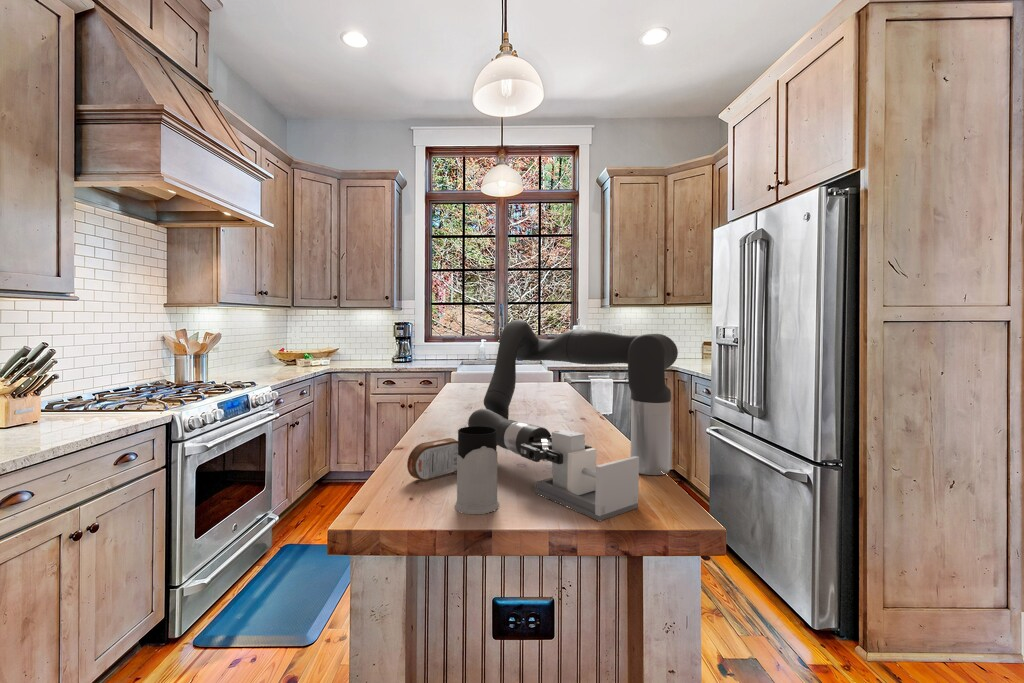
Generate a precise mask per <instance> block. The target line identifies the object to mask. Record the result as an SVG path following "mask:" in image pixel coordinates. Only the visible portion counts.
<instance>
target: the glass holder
mask: <svg viewBox="0 0 1024 683" xmlns="http://www.w3.org/2000/svg"><path fill="white" fill-rule="evenodd" d="M457 441H458V455H457V472H456V502H455V504H454V509H455V511H457V512H458V511H460V512H459V513H461V512H462V513H461V514H464V513H465V514H464V515H469V514H483V515H485V514H484V513H488V514H490V513H489V512H492V511H494V510H496V509H497V508H498V507H499V508H500V503H499V501H498V451H497V448H498V447H497V446H498V445H497V430H496V429H495V428H492V427H486V426H470V427H468V426H465V427H461V428H458V429H457ZM499 508H498V509H499ZM498 509H497V510H498ZM497 510H496V511H497ZM494 512H495V511H494ZM492 513H493V512H492Z"/></svg>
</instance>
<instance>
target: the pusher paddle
mask: <svg viewBox="0 0 1024 683" xmlns="http://www.w3.org/2000/svg"><path fill="white" fill-rule="evenodd" d="M596 466H597V449H596V448H594V447H592V448H590V449H585V450H580V451H576V452H571V453H568V480H567V491H569V492H571V493H574V494H576V495H581V494H585V493H588V492H592V491H595V490H596Z"/></svg>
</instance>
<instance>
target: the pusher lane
mask: <svg viewBox="0 0 1024 683" xmlns="http://www.w3.org/2000/svg"><path fill="white" fill-rule="evenodd" d="M639 474H640V473H639V457H637V456H633V457H630V456H629V457H626V458H621V459H617V460H613V461H609V462H605V463H601V464H596V490H595V491H592V492H588V493H585V494H581V495H576V494H574V493H571V492H569V491H566V490H564V489H561V488H559V487H556V486H554V485H553V476H552V477H549V478H544V479H541V480H537V481H536V482H537V483H536V488H535V490H534V491H535V493H537V494H536V495H538V494H539V495H538V496H540V495H542V496H544V497H543V498H545V497H546V498H545V499H547V498H548V499H547V500H549V499H551V500H553V501H552V502H554V501H556V502H558V503H561V504H563V505H565V506H568V507H570V508H572V509H574V510H576V511H578V512H577V513H579V512H581V513H583V514H585V515H584V516H586V515H587V516H586V517H588V516H590V517H592V518H594V519H593V520H595V519H597V520H599V521H598V522H601V521H600V520H602V521H604V520H603V519H605V520H607V519H606V518H608V519H610V518H609V517H611V518H613V517H615V516H619V515H623V514H624V513H627V512H630V511H634V510H637V509H638V508H639V481H640V480H639V479H640V478H639V477H640V476H639ZM542 496H541V497H542ZM551 500H550V501H551ZM556 502H555V503H556ZM558 503H557V504H558ZM561 504H560V505H561ZM563 505H562V506H563ZM565 506H564V507H565ZM570 508H569V509H570ZM572 509H571V510H572ZM574 510H573V511H574ZM576 511H575V512H576ZM581 513H580V514H581ZM583 514H582V515H583ZM618 514H619V515H618ZM612 516H613V517H612ZM590 517H589V518H590ZM592 518H591V519H592ZM597 520H596V521H597Z"/></svg>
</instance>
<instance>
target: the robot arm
mask: <svg viewBox="0 0 1024 683" xmlns="http://www.w3.org/2000/svg"><path fill="white" fill-rule="evenodd" d="M498 345H499V346H498V349H497V355H496V360H495V365H494V370H493V373H492V376H491V380H490V383H489V385H488V387H487V390H486V392H485V395H484V398H483V405H484V407H485V408H480V409H476V410H475V411H473V412H472V413H471V415H470V416H469V417H468V420H467V427H470V426H486V427H492V428H495V429H496V430H497V446H498V447H500V448H502V449H505V450H507V451H511V452H512V453H514V454H516V455H519V456H520V457H522V458H525V459H527V460H530V461H531V462H534V463H540V462H541V461H543V462H551V463H552V462H553V463H556V464H563V454H562V453H560V452H557V451H553V450H552V433H551V432H550V430H548V429H547V428H545V427H543V426H539V425H535V424H532V423H528V422H522V421H516V420H513V419H509V415H510V414H509V413H510V412H509V411H510V408H509V407H510V404H511V402H512V400H513V396H514V392H515V390H516V382H517V380H516V379H517V377H516V376H517V373H516V372H517V370H516V365H517V364H516V361H517V360H519V361H552V362H553V361H554V362H562V363H563V362H564V363H565V362H566V363H571V364H578V365H579V364H580V365H611V364H612V365H613V364H624V365H625V364H627V375H628V376H627V382H628V383H627V384H628V388H629V390H630V394H631V397H630V398H631V399H630V400H631V404H630V406H631V408H630V409H631V410H630V451H629V452H630V454H629V455H630V456H629V457H633V456H637V457H639V474H641V475H648V476H663V475H667V474H669V472H670V470H672V458H673V457H672V456H673V455H672V452H673V451H672V450H673V445H672V444H673V431H672V430H671V412H672V411H671V410H672V408H671V404H672V403H671V402H672V401H671V400H672V392H671V389H670V388H669V387H668V386H667V384H666V378H665V374H666V373H665V372H666V371H665V370H666V369H668V368H670V367H672V365H674V363H676V360H677V359H678V356H679V351H678V347H677V345H676V343H675V341H674V340H672V339H671V338H670V337H668V336H667V335H665V334H662V333H645V334H640V335H625V334H624V335H623V334H617V333H611V332H605V331H601V330H599V331H597V330H590V329H588V330H587V329H568V330H566V331H564V332H562V333H560V334H559V335H558V336H556V337H555V338H553V339H543V338H539V337H538V336H536V334H535V332H534V330H533V328H532V327H531V325H529V323H528V322H527V321H525V320H524V319H520V318H519V319H515V320H514V319H513V320H512V321H510V322H509V323H507V324H506V325H505V326H504V328H503V330H502V332H501V335H500V339H499V344H498ZM590 448H593V447H592V446H590V445H586V444H585V449H590ZM661 471H662V472H663V473H665V474H663V473H662V472H661Z"/></svg>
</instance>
